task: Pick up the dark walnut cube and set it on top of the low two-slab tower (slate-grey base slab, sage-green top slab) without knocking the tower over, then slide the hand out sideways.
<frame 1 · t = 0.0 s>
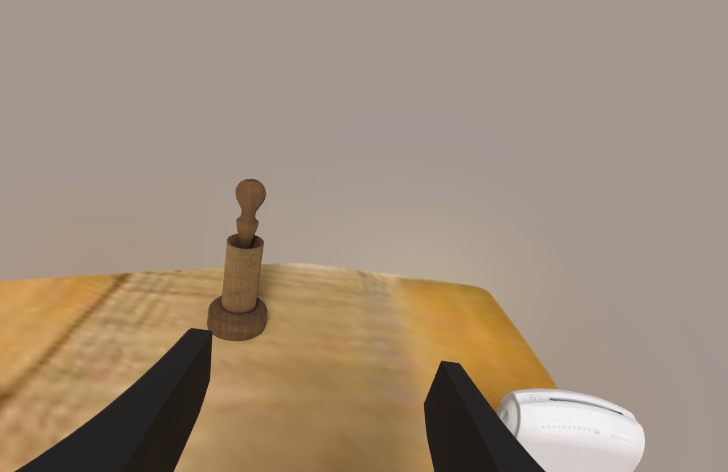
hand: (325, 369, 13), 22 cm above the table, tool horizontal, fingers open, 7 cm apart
mortar and pestle: (236, 325, 48), on the table
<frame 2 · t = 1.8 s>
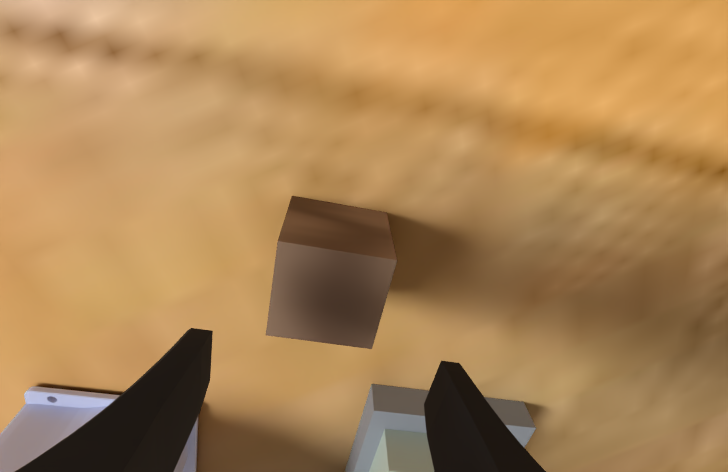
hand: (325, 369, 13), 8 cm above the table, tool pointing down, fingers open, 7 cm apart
tower top slab: (424, 470, 25), point 2 cm above the table
walnut cube: (331, 244, 20), on the table
tower base slab: (425, 436, 28), on the table
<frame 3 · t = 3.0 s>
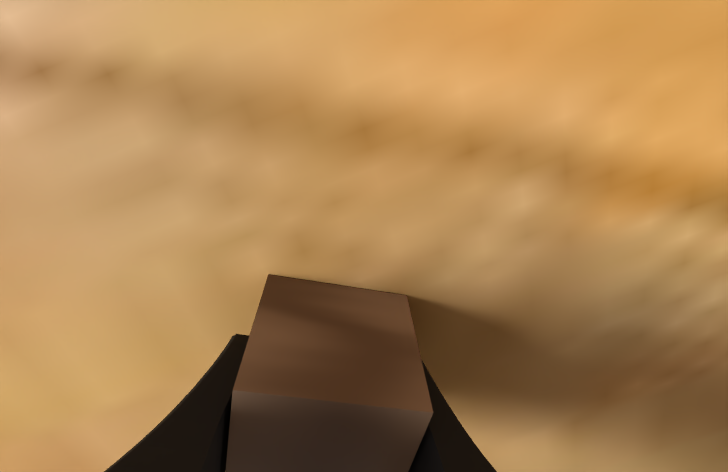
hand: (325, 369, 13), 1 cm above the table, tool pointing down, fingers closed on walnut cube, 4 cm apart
walnut cube: (327, 338, 14), on the table, touching gripper
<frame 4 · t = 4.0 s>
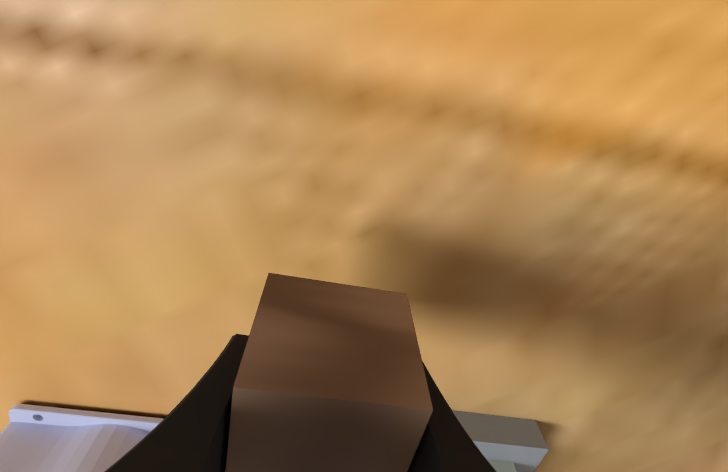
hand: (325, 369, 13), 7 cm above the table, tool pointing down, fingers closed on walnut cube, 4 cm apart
walnut cube: (327, 336, 14), point 5 cm above the table, touching gripper
tower base slab: (431, 453, 27), on the table, touching tower top slab
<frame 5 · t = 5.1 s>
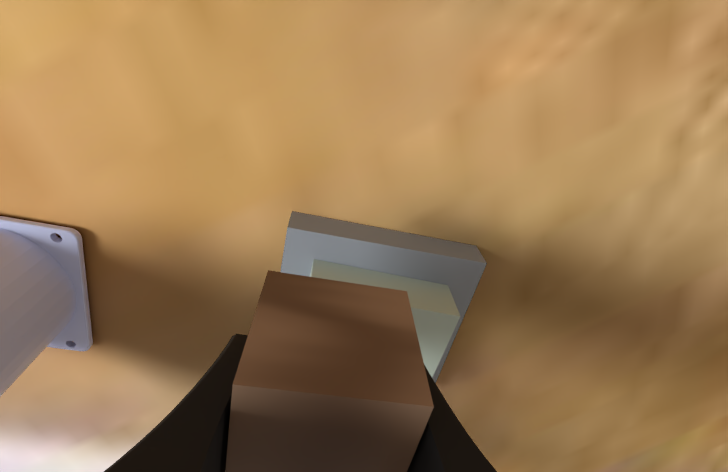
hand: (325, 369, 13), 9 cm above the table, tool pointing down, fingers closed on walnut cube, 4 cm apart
tower top slab: (365, 325, 22), point 2 cm above the table, touching tower base slab
walnut cube: (327, 334, 14), point 8 cm above the table, touching gripper
tower base slab: (365, 297, 24), on the table, touching tower top slab
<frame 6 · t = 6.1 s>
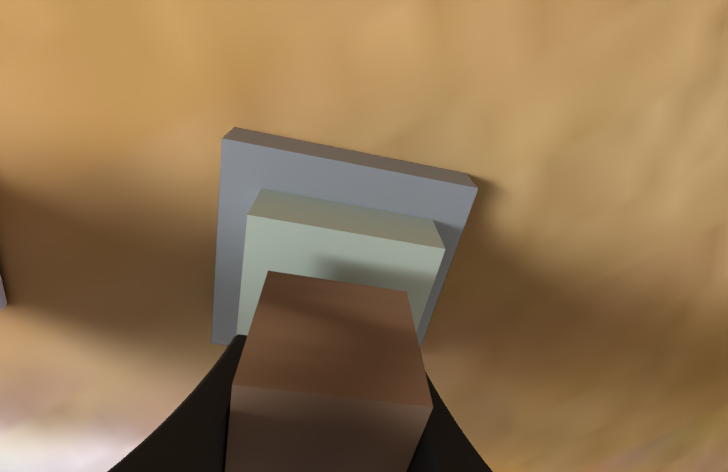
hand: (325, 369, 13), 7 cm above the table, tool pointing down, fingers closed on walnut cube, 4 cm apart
tower top slab: (333, 276, 18), point 2 cm above the table, touching tower base slab
walnut cube: (327, 334, 14), point 6 cm above the table, touching gripper
tower base slab: (334, 245, 20), on the table, touching tower top slab
when the fingers open (7 cm above the table, at t = 6.4 s): walnut cube drops 2 cm, resting on tower top slab.
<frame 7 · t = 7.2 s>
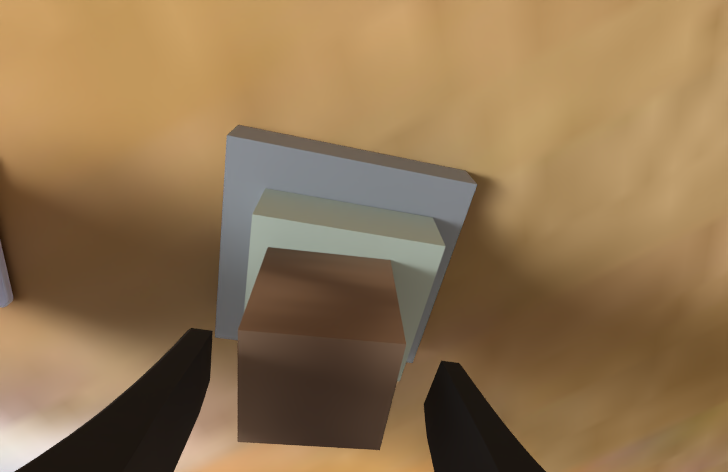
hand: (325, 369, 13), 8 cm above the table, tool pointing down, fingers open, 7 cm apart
tower top slab: (336, 273, 18), point 2 cm above the table, touching walnut cube
walnut cube: (324, 302, 16), point 4 cm above the table, touching tower top slab
tower base slab: (335, 241, 20), on the table
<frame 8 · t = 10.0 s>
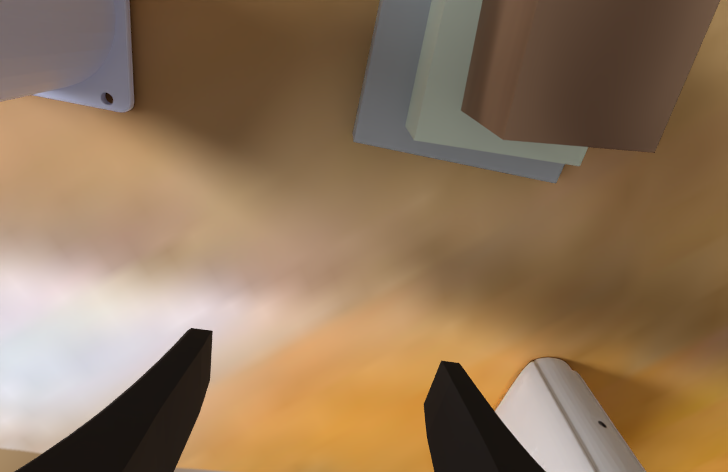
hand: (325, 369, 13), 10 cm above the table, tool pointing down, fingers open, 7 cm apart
photo printer: (520, 403, 30), on the table
tower top slab: (505, 54, 17), point 2 cm above the table, touching tower base slab, walnut cube
walnut cube: (535, 51, 14), point 4 cm above the table, touching tower top slab
tower base slab: (479, 45, 19), on the table, touching tower top slab
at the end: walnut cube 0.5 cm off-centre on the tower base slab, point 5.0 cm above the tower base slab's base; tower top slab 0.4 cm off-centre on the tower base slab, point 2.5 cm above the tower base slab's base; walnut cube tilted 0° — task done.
